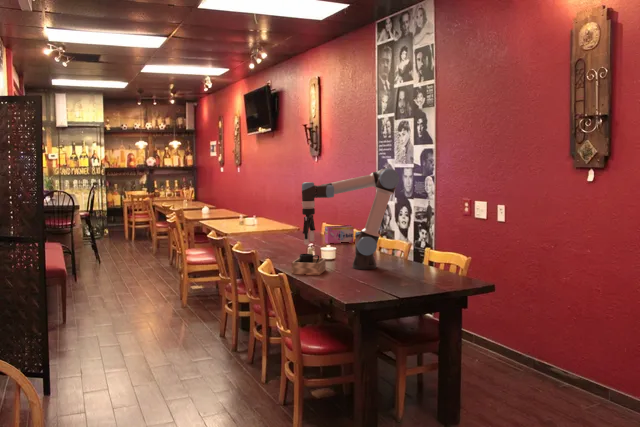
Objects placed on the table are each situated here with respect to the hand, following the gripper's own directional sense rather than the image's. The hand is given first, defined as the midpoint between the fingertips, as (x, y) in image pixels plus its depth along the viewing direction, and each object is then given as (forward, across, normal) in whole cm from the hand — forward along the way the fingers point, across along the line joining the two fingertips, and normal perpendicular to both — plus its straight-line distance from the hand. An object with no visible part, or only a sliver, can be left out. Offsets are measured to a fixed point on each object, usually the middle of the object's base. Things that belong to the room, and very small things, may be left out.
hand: (309, 242), depth 358 cm
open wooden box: (+18, 0, -1) cm, 18 cm away
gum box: (+19, -126, -6) cm, 128 cm away
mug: (+17, -1, -1) cm, 17 cm away
